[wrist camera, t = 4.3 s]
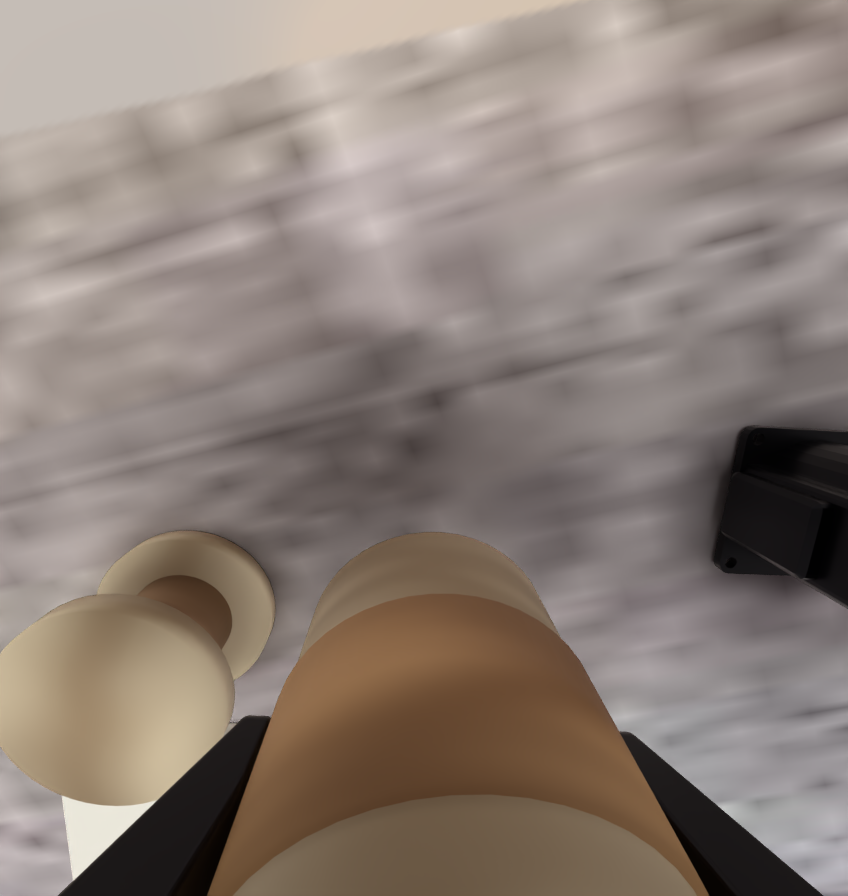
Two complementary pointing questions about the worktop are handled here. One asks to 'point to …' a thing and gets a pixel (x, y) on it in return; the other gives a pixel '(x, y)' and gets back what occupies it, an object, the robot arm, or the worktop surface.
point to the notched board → (97, 827)
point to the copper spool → (444, 749)
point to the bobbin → (135, 670)
